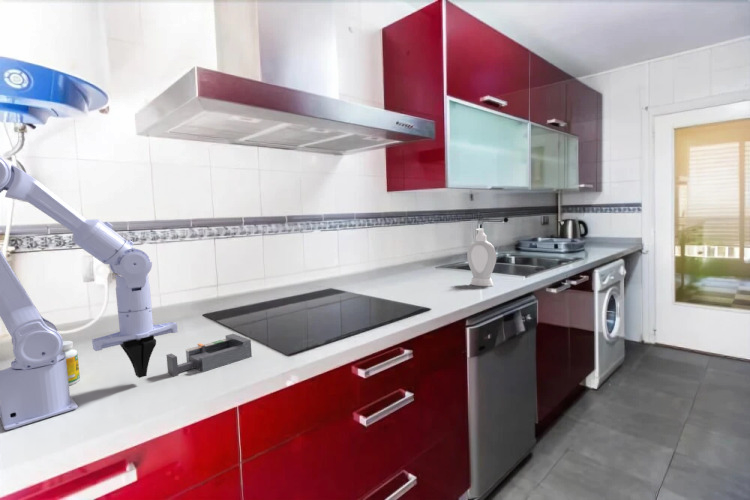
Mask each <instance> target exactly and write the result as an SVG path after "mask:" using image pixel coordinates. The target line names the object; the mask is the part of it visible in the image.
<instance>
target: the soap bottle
mask: <svg viewBox="0 0 750 500" xmlns="http://www.w3.org/2000/svg"><path fill="white" fill-rule="evenodd" d="M475 231H478V233H477V235H475V241H473V242H471V243H470V245H469V246H468V248H467V252H466V253H467V254H466V259H467V263H468V266H469V269H470V271H471V274H472V278H471V281H470V285H471V286H475V287H493V286H494V283H493V280H492V278H491V276H492V273H493V271H494V270H495V265H496V263H497V252H496V249H495V246H494V245H493V244H492V243H491V242H490V241H488V240H487V238H488V236H487V234H486V233H485V232H484V231H485V228H481V227H480V228H475Z"/></svg>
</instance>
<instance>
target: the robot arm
mask: <svg viewBox="0 0 750 500" xmlns="http://www.w3.org/2000/svg"><path fill="white" fill-rule="evenodd" d="M4 191H6V192H5V195H4V198H8V199H13V200H19V201H23V202H27V203H29V204H30V205H32V206H33V207H35V208H36V209H38V210H39V211H40V212H42V213H44V214H45V215H46V216H48V217H50V218H51V219H52V220H54V221H55V222H57V223H58V224H60V225H62V226H63V227H64V228H66V229H67V230H69V231H71V233H72V238H73V239H72V240H73V243H74V244H75V245H77V246H78V247H80V248H81V249H82V250H83V251H85V252H87V253H88V254H89V255H90V256H92V257H93V258H95V259H96V260H98V261H99V262H101V263H102V264H103V265H109V268H110V270H111V272H112V273H115V285H116V286H115V295H116V306H117V316H118V317H117V318H118V326H119V331H117V332H115V333H110V334H108V335H104V336H99V337H97V338H92V339H91V343H92V350H94V351H95V352H99V351H102V350H103V349H107V348H111V347H112V348H113V347H116V346H120V347H121V349H122V350H123V351H124V353H125V354H126V356H127V357H128V359H129V360H130V362H131V365H132V367H133V370H134V373H135V376H136V378H138V379H140V378H143V377H147V374H148V368H149V363H150V360H151V359H150V358H151V356H152V353H153V351H154V350H155V347H156V345H157V339H156V338H155V337H159V336H163V335H167V334H175V333H178V323H177V322H174V321H171V322H163V323H159V324H157V323H156V324H154V321H153V318H154V317H153V309H152V308H153V307H152V297H151V287H150V281H149V273H150V272H151V270H152V266H153V262H152V261H151V259H150V257H149V255H148V254H147V253H146V252H145V251H143V250H141V249H138V248H135V247H134V245H135V243H134V241H132V240H131V239H128V240H127V239H125V238H124V237H123V236H122V235H120V234H119V233H117V232H116V231H115V230H114V229H113V227H114V225H113V224H112V223H110V222H109V221H105V222H103V221H102V220H100V219H98V218H96V219H86V217H84V216H83V215H81V214H80V213H79V212H78V211H76V209H74V208H73V207H71V205H69V204H68V203H66V202H65V201H64V200H63V199H62V198H60V197H59V196H58V195H57V194H55V193H54V192H53V191H51V190H50V189H49V188H48V187H47V186H45V185H44V184H43V183H41V182H40V181H39V180H37V179H36V178H34V177H33V176H31V175H30V174H28V173H27V172H26V171H24V170H23V169H21V168H19V167H17V166H15V164H11V166H10V165H9V164H8V162H7V161H6V160H5V159H4V158H3V157H2V156H0V194H1V193H2V192H4ZM0 319H1V321H2V322H3V324H4V327H5V328H6V330H7V332H8V334H9V335H10V337H11V344H12V352H13V356H14V357H15V358H14V360H12V361H11V362H10V366H9V367H7V368H4V369H1V370H0V421H1V424H2V426H3V429H4V430H5V431H9V430H12V429H15V428H19V427H22V426H26V425H28V424H31V423H35V422H38V421H42V420H44V419H47V418H50V417H54V416H57V415H60V414H64V413H66V412H69V411H70V412H71V411H72V410H73V411H74V410H76V409H77V408H78V404H77V403H76V402H75V400H74V399H73V398H72V396H71V394H70V386H69V383H68V373H67V364H66V356H65V353H64V352H62V348H63V341H64V340H63V336H62V335H61V334H60V333H59V332H58V328H57V326H56V325H55V324H54V323H53V322H51V321H50V320H48V319H46V318H44V317H43V316H42V315H41V314H40V312H39V311H38V309H37V307H36V306H35V304H34V302H33V301H32V299H31V298H30V295H28V292H27V291H26V289H25V288H24V286H23V284H22V283H21V282H20V280H19V278H18V276H17V275H16V272H15V271H14V269H13V268H12V267H11V265H10V263H9V262H8V260H7V258H6V257H5V255H4V254H3V252H2V250H1V249H0Z"/></svg>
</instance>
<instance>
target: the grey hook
mask: <svg viewBox="0 0 750 500" xmlns="http://www.w3.org/2000/svg"><path fill="white" fill-rule="evenodd" d="M197 346H200V347H201V350H202V353H199V354H195V355H192V356H190V362H187V361H186V362H184V363H183V362H182V363H180V364H178V356H177V355H175V354H173V353H168V354H166V355H165V356H166V366H167V367H166V368H167V373H168V374H169V375H171V376H172V377H175V376H178V375H179V373H182V372H184V371H188V370H192V369H195V368H196V369H198V370H200V369H199V356H203V355H206V354H209V353H207V352H205V345H204V344H203V343H201V342H199V343H197Z"/></svg>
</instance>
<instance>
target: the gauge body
mask: <svg viewBox="0 0 750 500" xmlns="http://www.w3.org/2000/svg"><path fill="white" fill-rule="evenodd" d="M203 345H205V352H207V353H209V354H206V355H203V356H199V369H198V370H199V371H200V372H202V373H204V372H207V371H210V370H215V369H217V368H220V367H223V366H226V365H230V364H233V363H236V362H238V361H242V360H245V359H248V358H252V357H253V355H252V340H251V339H249V338H246V337H244V336H240V335H239V334H235V333H230V334H226V335H225V338H224V339H219V340H216V341H211V342H209V343H205V344H203ZM199 353H202V350H201V347H200V346H198V345H196V346H195V347H191V348H186V349H185V357H186V359H185V360H186V362H190V356H192V355H195V354H199Z"/></svg>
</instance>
